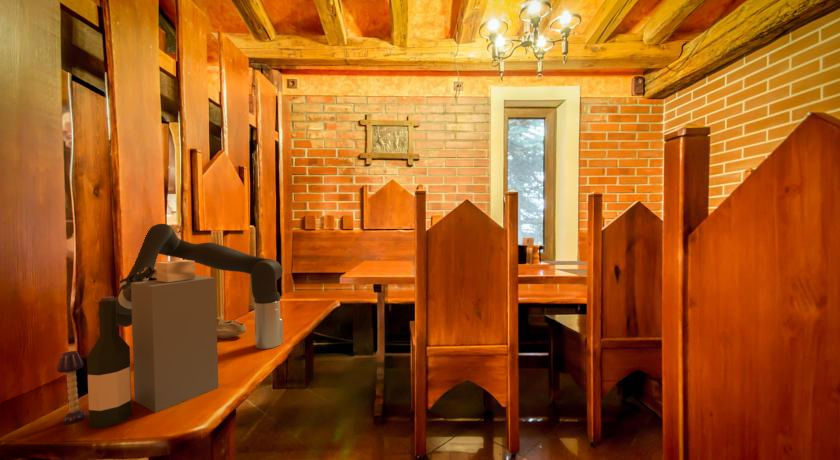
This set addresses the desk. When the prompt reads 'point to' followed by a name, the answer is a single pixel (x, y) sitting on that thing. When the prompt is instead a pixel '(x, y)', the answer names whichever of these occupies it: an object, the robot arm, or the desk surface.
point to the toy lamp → (71, 384)
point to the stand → (174, 340)
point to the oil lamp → (229, 328)
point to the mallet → (174, 270)
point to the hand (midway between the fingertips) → (158, 267)
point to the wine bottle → (109, 372)
